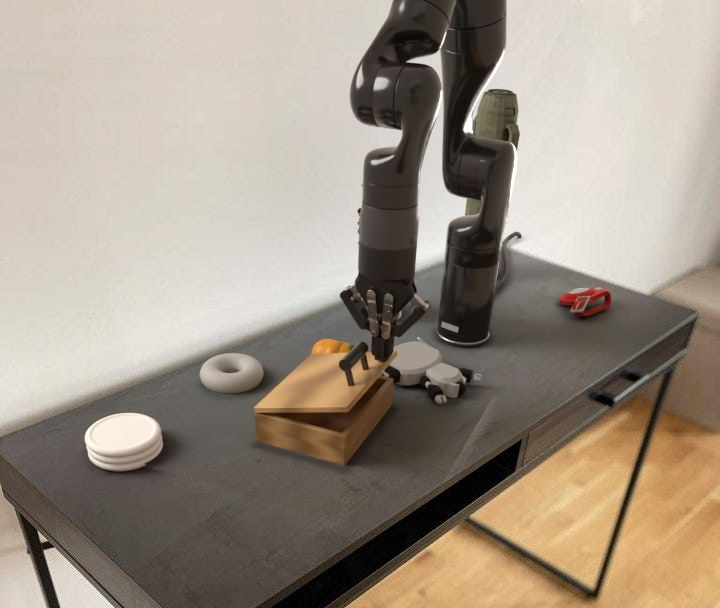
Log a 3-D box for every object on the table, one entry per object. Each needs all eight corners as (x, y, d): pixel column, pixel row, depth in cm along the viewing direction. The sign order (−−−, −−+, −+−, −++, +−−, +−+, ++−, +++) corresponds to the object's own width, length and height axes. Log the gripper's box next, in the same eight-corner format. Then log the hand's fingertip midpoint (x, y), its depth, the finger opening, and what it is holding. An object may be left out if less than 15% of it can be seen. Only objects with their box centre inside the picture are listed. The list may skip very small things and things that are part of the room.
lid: (397, 355, 110) (391, 324, 108) (348, 412, 97) (339, 378, 95) (312, 358, 117) (304, 329, 114) (255, 412, 103) (244, 381, 101)
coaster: (74, 453, 104) (68, 431, 102) (134, 424, 110) (130, 403, 108) (118, 482, 99) (113, 460, 97) (178, 450, 105) (175, 429, 103)
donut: (191, 395, 117) (253, 402, 116) (188, 375, 115) (251, 382, 114) (214, 365, 125) (272, 371, 124) (211, 346, 123) (270, 352, 122)
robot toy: (484, 392, 122) (412, 355, 129) (489, 368, 119) (416, 331, 126) (437, 421, 115) (364, 380, 122) (442, 396, 112) (367, 355, 119)
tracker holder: (550, 291, 151) (598, 278, 151) (553, 313, 153) (600, 299, 153) (572, 302, 140) (624, 288, 140) (575, 325, 142) (627, 311, 142)
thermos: (482, 287, 155) (508, 99, 134) (442, 269, 162) (461, 88, 141) (512, 278, 159) (541, 94, 138) (472, 261, 167) (493, 84, 146)
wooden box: (391, 409, 116) (393, 378, 112) (344, 469, 103) (344, 437, 99) (311, 389, 120) (311, 359, 117) (256, 445, 107) (254, 413, 104)
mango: (306, 372, 124) (305, 342, 121) (319, 359, 128) (319, 330, 125) (350, 383, 122) (351, 353, 118) (363, 369, 125) (364, 339, 122)
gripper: (446, 237, 98) (434, 357, 108) (353, 221, 102) (349, 338, 112) (427, 255, 92) (416, 380, 103) (329, 237, 96) (328, 360, 107)
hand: (381, 358), depth 107 cm, fingers closed
